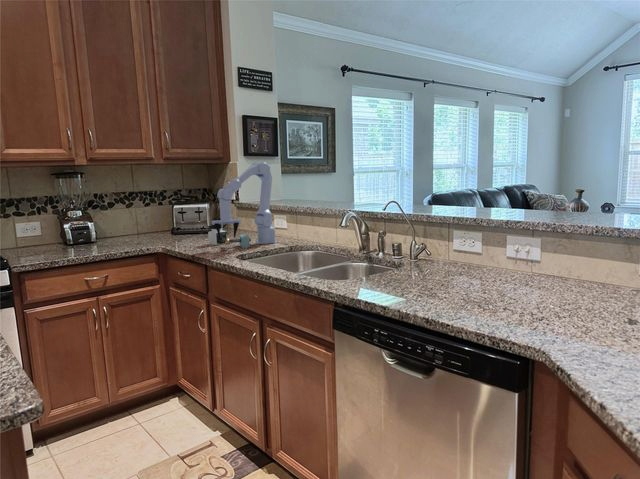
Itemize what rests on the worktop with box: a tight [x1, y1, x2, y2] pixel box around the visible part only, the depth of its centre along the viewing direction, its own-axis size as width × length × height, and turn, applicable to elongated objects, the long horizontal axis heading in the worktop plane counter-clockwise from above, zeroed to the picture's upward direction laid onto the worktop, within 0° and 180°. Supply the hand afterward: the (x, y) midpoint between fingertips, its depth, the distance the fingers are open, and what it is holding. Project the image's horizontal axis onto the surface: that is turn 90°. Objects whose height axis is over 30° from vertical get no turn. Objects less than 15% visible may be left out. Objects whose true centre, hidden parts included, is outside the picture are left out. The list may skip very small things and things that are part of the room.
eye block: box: [239, 233, 250, 249], centre depth 248 cm, size 4×10×6 cm, turn 15°
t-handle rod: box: [225, 237, 252, 246], centre depth 247 cm, size 14×9×3 cm, turn 105°
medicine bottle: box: [207, 223, 227, 246], centre depth 258 cm, size 7×7×12 cm
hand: (227, 237), depth 242 cm, fingers open, 7 cm apart
